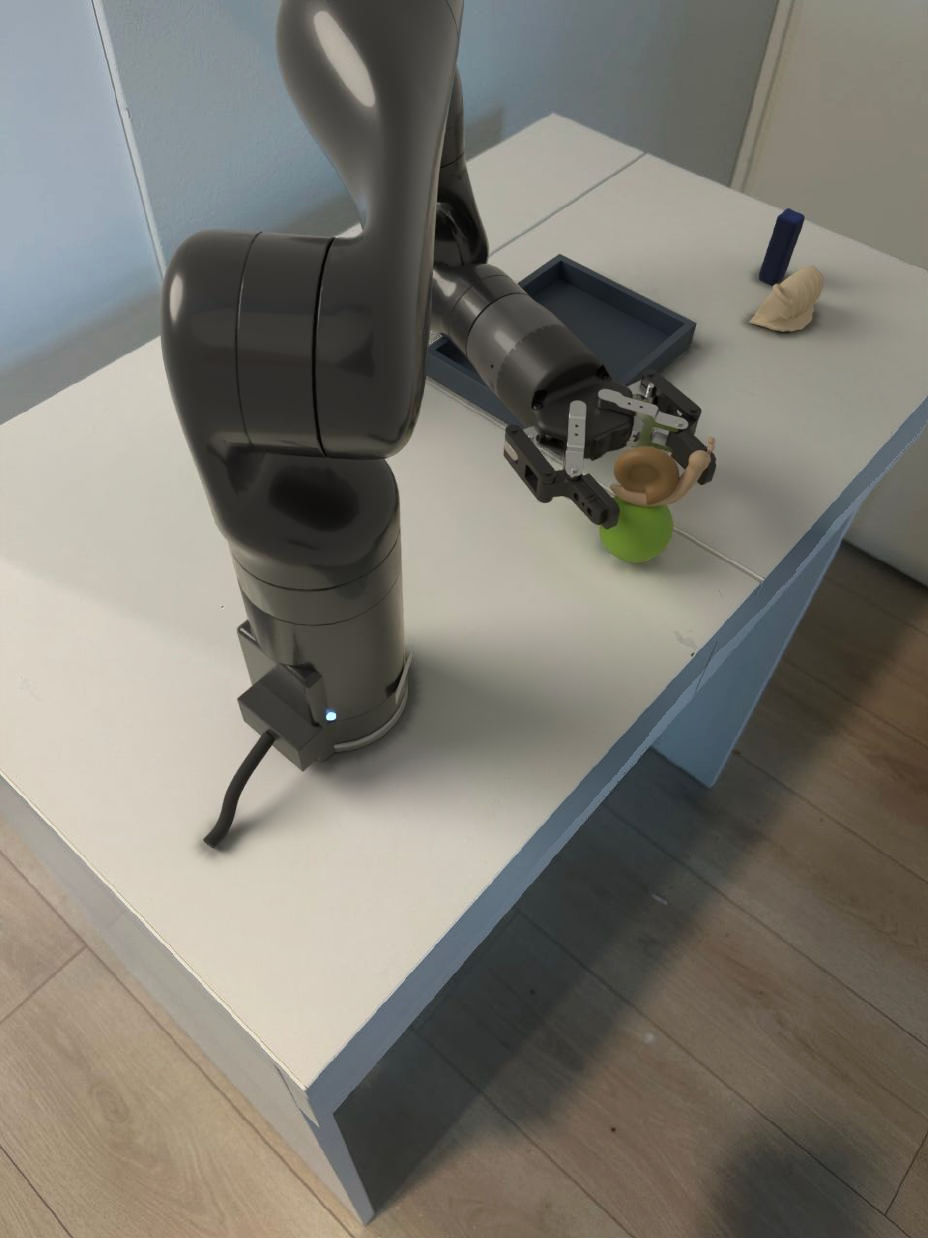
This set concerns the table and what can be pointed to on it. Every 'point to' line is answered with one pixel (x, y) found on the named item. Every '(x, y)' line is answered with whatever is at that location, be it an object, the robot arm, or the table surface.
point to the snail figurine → (648, 500)
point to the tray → (580, 331)
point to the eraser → (781, 246)
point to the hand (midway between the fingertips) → (663, 497)
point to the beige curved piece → (791, 301)
